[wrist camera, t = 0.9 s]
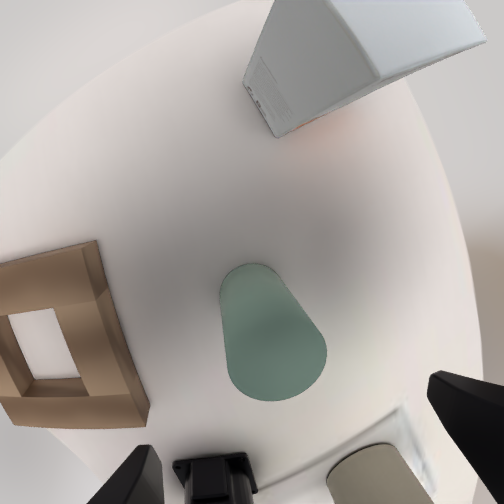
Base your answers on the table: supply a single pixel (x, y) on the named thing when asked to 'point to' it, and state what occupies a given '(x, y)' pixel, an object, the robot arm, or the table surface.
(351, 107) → the table surface
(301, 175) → the table surface
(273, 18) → the skincare box
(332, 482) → the travel mug
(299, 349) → the green peg
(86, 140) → the table surface
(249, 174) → the table surface
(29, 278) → the walnut holder
